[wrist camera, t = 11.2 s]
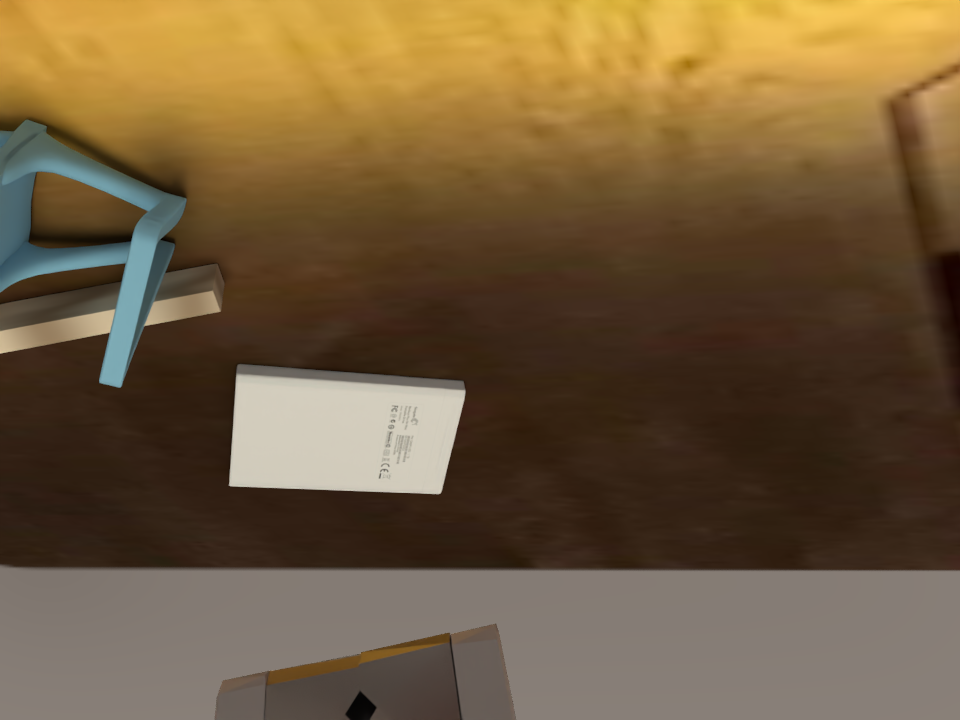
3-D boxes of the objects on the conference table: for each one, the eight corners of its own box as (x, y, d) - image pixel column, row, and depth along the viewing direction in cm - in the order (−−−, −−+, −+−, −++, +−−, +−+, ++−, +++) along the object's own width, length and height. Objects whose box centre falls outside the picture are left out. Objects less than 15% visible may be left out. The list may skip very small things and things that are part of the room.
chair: (200, 154, 41) (-86, 54, 38) (157, 238, 35) (-196, 125, 31) (165, 292, 45) (-98, 212, 42) (119, 392, 38) (-198, 305, 35)
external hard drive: (237, 357, 49) (463, 375, 52) (230, 469, 54) (437, 480, 57) (235, 376, 48) (466, 393, 51) (228, 489, 52) (440, 498, 55)
